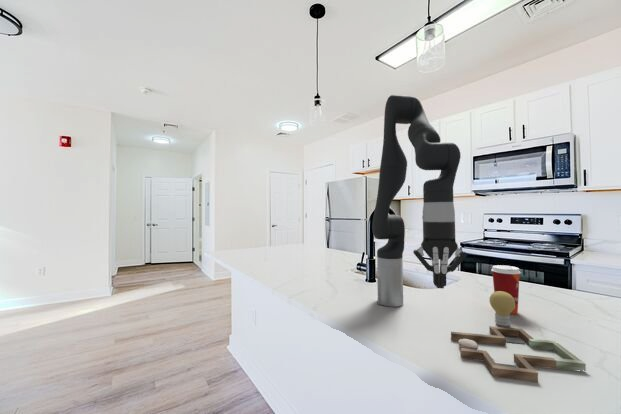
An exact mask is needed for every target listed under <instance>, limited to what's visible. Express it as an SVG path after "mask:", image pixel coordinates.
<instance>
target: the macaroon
mask: <svg viewBox="0 0 621 414" xmlns="http://www.w3.org/2000/svg"><path fill="white" fill-rule="evenodd" d="M458 346H459V347H460V348H464V349H474V350H479V346H478V343H476V342H475V341H473V340H469V339H460V340H459V341H458Z"/></svg>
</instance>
